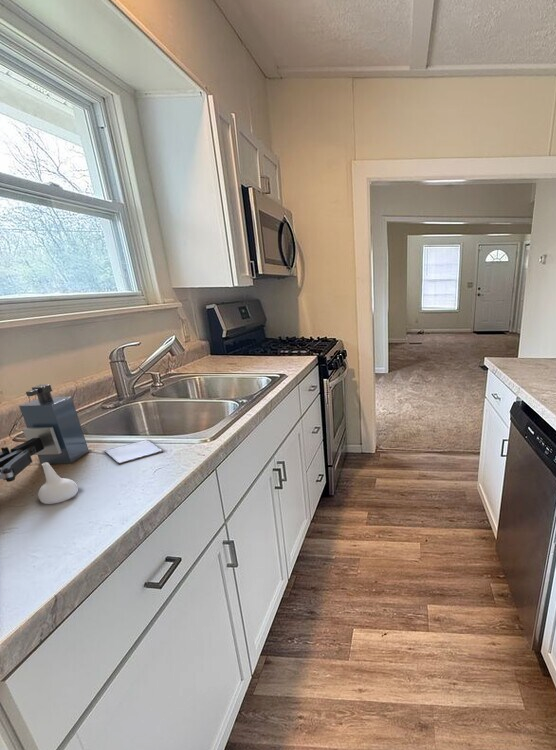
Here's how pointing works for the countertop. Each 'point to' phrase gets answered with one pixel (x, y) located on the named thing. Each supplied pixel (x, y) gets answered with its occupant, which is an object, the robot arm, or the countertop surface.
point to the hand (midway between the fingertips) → (38, 443)
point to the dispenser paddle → (43, 439)
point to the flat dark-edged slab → (133, 451)
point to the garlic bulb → (56, 487)
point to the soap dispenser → (56, 423)
